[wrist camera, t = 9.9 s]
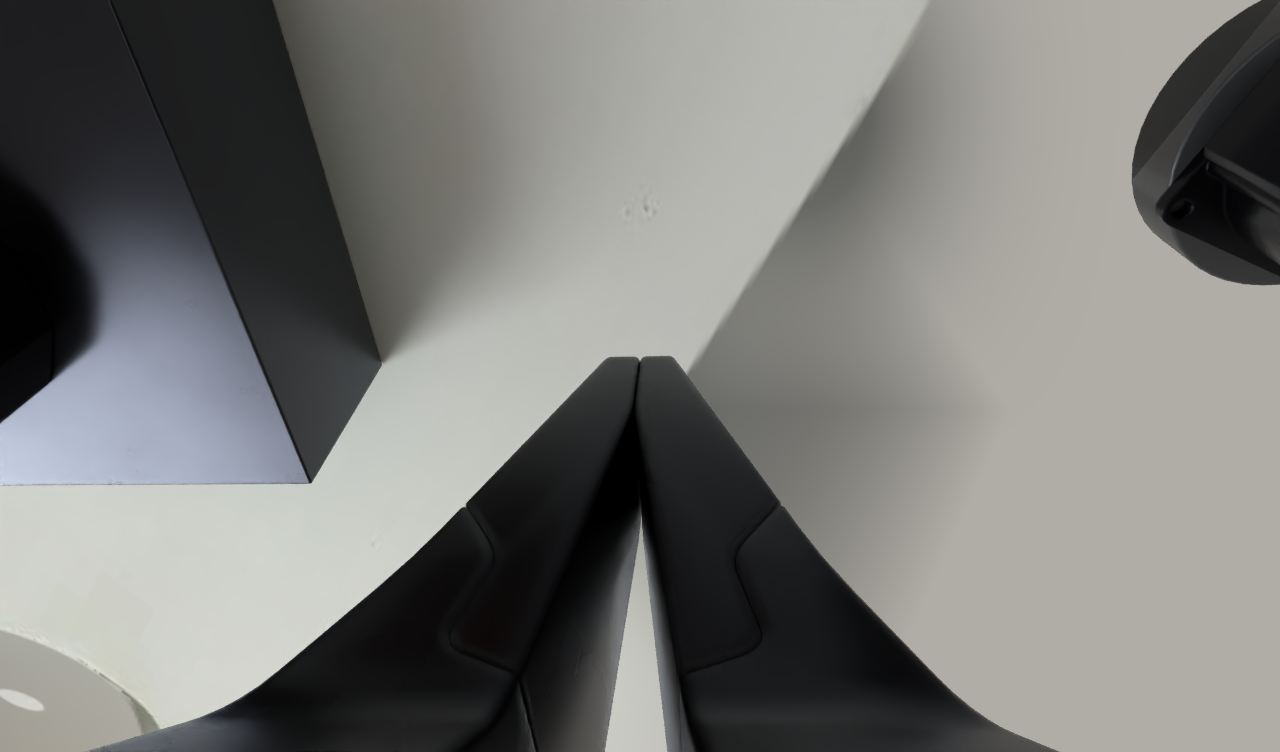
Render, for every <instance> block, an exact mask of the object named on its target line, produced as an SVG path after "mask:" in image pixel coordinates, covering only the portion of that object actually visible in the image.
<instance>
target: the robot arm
mask: <svg viewBox="0 0 1280 752" xmlns="http://www.w3.org/2000/svg"><path fill="white" fill-rule="evenodd" d="M1182 201H1184V204H1183V206H1182V207H1181V208H1180V209H1179V210H1178V211H1176V212H1173V213H1172V210H1173V208H1174V206H1175V205H1177V204H1178V203H1179V202H1182ZM1154 211H1155V214H1156V216H1157V217H1158V218H1159V219H1160V220H1162V221H1163V222H1164V223H1166V224H1167V225H1169V226H1171V227H1173V228H1175V229H1177V230H1179V231H1182V232H1184V233H1186V234H1188V235H1190V236H1193V237H1195V238H1197V239H1199V240H1201V241H1203V242H1206V243H1208V244H1210V245H1212V246H1214V247H1217V248H1219V249H1221V250H1223V251H1225V252H1227V253H1230V254H1232V255H1234V256H1236V257H1238V258H1241V259H1243V260H1245V261H1247V262H1249V263H1251V264H1254V265H1256V266H1258V267H1260V268H1262V269H1264V270H1267V271H1269V272H1271V273H1273V274H1275V275H1278V276H1280V58H1279V59H1278V60H1277V61H1276V62H1275V64H1274V65H1273V66H1272V67H1271V68H1270V69H1269V71H1268V72H1267V73H1266V74H1265V75H1264V76H1263V78H1262V79H1261V80H1260V81H1259V82H1258V83H1257V85H1256V86H1255V87H1254V88H1253V89H1252V90H1251V92H1250V93H1249V94H1248V95H1247V96H1246V97H1245V98H1244V100H1243V101H1242V102H1241V103H1240V104H1239V105H1238V107H1237V108H1236V109H1235V110H1234V111H1233V112H1232V114H1231V115H1230V116H1229V117H1228V118H1227V119H1226V121H1225V122H1224V123H1223V124H1222V125H1221V126H1220V128H1219V129H1218V130H1217V131H1216V132H1215V133H1214V135H1213V136H1212V137H1211V138H1210V139H1209V140H1208V142H1207V143H1206V144H1205V146H1204V147H1203V148H1202V149H1201V150H1200V151H1199V153H1198V154H1197V155H1196V156H1195V157H1194V158H1193V160H1192V161H1191V162H1190V163H1189V164H1188V165H1187V167H1186V168H1185V169H1184V170H1183V171H1182V172H1181V173H1180V175H1179V176H1178V177H1177V178H1176V179H1175V180H1174V182H1173V183H1172V184H1171V185H1170V186H1169V187H1168V189H1167V190H1166V191H1165V192H1164V193H1163V194H1162V196H1161V197H1160V198H1159V200H1158V201H1157V203H1156V205H1155V210H1154ZM641 516H642V529H643V542H644V550H645V559H646V568H647V576H648V585H649V594H650V603H651V612H652V620H653V630H654V638H655V647H656V656H657V665H658V673H659V682H660V691H661V699H662V709H663V717H664V726H665V735H666V743H667V752H1058V751H1056V750H1054V749H1051V748H1049V747H1046V746H1044V745H1041V744H1039V743H1036V742H1034V741H1032V740H1029V739H1027V738H1024V737H1022V736H1019V735H1017V734H1015V733H1012V732H1010V731H1008V730H1006V729H1004V728H1002V727H1000V726H998V725H997V724H995V723H993V722H991V721H990V720H988V719H987V718H985V717H984V716H982V715H981V714H980V713H978V712H977V711H975V710H974V709H973V708H971V707H970V706H969V705H967V704H966V703H965V702H964V701H963V700H961V699H960V698H959V697H958V696H957V695H955V694H954V693H953V692H952V691H951V690H950V689H949V688H948V687H947V686H946V685H945V684H944V683H943V682H942V681H941V680H940V679H939V678H937V676H935V674H934V673H933V672H932V671H931V670H930V669H929V668H928V667H927V666H926V665H925V664H924V663H923V662H922V661H921V660H920V659H919V658H918V657H917V656H916V655H915V654H914V653H913V652H912V651H911V650H910V649H909V647H907V645H906V644H905V643H904V642H903V641H902V640H901V639H900V638H899V637H898V636H897V635H896V634H895V633H894V632H893V631H892V630H891V629H890V628H889V627H888V626H887V625H886V624H885V623H884V622H883V621H882V620H881V619H880V618H879V617H878V615H876V613H875V612H873V610H872V609H871V608H870V607H869V606H868V605H867V604H866V603H865V602H864V601H863V600H862V599H861V598H860V597H859V596H858V595H857V594H856V593H855V592H854V591H853V590H852V588H851V587H849V585H848V584H847V583H846V582H845V581H844V580H843V579H842V578H841V577H840V575H839V574H838V573H837V572H836V571H835V570H834V569H833V568H832V567H831V566H830V565H829V564H828V562H827V561H826V560H825V559H824V558H823V557H822V555H821V554H820V553H819V552H818V550H817V549H816V548H815V547H814V545H813V544H812V543H811V542H810V540H809V539H808V538H807V537H806V535H805V534H804V533H803V532H802V531H801V529H800V528H799V526H798V525H797V524H796V522H795V521H794V520H793V518H792V517H791V516H790V514H789V513H788V512H787V510H786V509H785V507H783V506H781V503H780V501H779V500H778V498H777V497H776V496H775V494H774V493H773V492H772V490H771V489H770V488H769V486H768V485H767V483H766V482H765V481H764V479H763V478H762V477H761V475H760V474H759V473H758V471H757V470H756V468H755V467H754V466H753V464H752V463H751V462H750V460H749V459H748V458H747V456H746V455H745V454H744V452H743V451H742V449H741V448H740V447H739V445H738V444H737V443H736V441H735V440H734V439H733V437H732V436H731V435H730V433H729V432H728V430H727V429H726V428H725V426H724V425H723V424H722V422H721V421H720V420H719V418H718V417H717V416H716V414H715V413H714V412H713V410H712V409H711V408H710V406H709V405H708V404H707V402H706V401H705V399H704V398H703V397H702V395H701V394H700V393H699V391H698V390H697V388H696V387H695V386H694V384H693V383H692V382H691V380H690V379H689V378H688V376H687V375H686V374H685V372H684V371H683V369H682V368H681V367H680V365H679V364H678V363H677V361H676V360H675V359H674V358H673V357H671V356H646V357H643V358H642V359H641V361H640V360H639V359H638V358H637V357H609V358H607V359H605V360H604V361H603V362H602V363H601V364H600V365H599V366H598V368H597V369H596V370H595V371H594V372H593V373H592V374H591V375H590V376H589V377H588V378H587V379H586V380H585V381H584V382H583V383H582V384H581V385H580V386H579V387H578V388H577V389H576V390H575V391H574V392H573V393H572V394H571V395H570V396H569V398H568V399H567V400H566V401H565V402H564V403H563V404H562V405H561V406H560V407H559V408H558V409H557V410H556V411H555V412H554V413H553V414H552V415H551V416H550V417H549V418H548V419H547V420H546V421H545V422H544V423H543V424H542V425H541V426H540V428H539V429H538V430H537V431H536V432H535V433H534V434H533V435H532V436H531V437H530V438H529V439H528V440H527V441H526V442H525V443H524V444H523V445H522V446H521V447H520V448H519V449H518V450H517V451H516V452H515V453H514V454H513V455H512V456H511V457H510V459H509V460H508V461H507V462H506V463H505V464H504V465H503V466H502V467H501V468H500V469H499V470H498V471H497V472H496V473H495V474H494V475H493V476H492V477H491V478H490V479H489V480H488V481H487V482H486V483H485V484H484V485H483V486H482V487H481V489H480V490H479V491H478V492H477V493H476V494H475V495H474V496H473V497H472V498H471V499H470V500H469V501H468V502H467V503H466V507H463V508H461V509H460V510H459V511H458V512H457V513H456V514H455V515H454V516H453V517H452V518H451V519H450V520H449V521H448V522H447V523H446V524H445V525H444V526H443V527H442V528H441V529H440V530H439V531H438V532H437V533H436V534H435V535H434V536H433V537H432V538H431V539H430V540H429V541H428V542H427V543H426V544H425V545H424V546H423V547H422V548H421V549H420V550H419V551H418V552H417V553H416V554H415V555H414V556H413V557H412V558H410V559H409V560H408V561H407V562H406V563H405V564H404V565H402V566H401V567H400V568H399V569H398V570H397V571H396V572H395V573H393V574H392V575H391V576H390V577H389V578H388V579H387V580H385V581H384V582H383V583H382V584H381V585H380V586H379V587H377V588H376V589H375V590H374V591H373V592H372V593H370V594H369V595H368V596H367V597H366V598H365V599H363V600H362V601H361V602H360V603H359V604H357V605H356V606H355V607H354V608H353V609H351V610H350V611H349V612H348V613H347V614H345V615H344V616H343V617H342V618H341V619H339V620H338V621H337V622H336V623H335V624H334V625H332V626H331V627H330V628H329V629H328V630H326V631H325V632H324V633H323V634H322V635H320V636H319V637H318V638H317V639H316V640H314V641H313V642H312V643H311V644H310V645H309V646H307V647H306V648H305V649H304V650H303V651H301V652H300V653H299V654H298V655H297V656H295V657H294V658H293V659H292V660H291V661H289V662H288V663H287V664H286V665H285V666H283V667H282V668H281V669H280V670H279V671H277V672H276V673H275V674H274V675H272V676H271V677H270V678H268V679H267V680H266V681H265V682H263V683H262V684H261V685H259V686H258V687H256V688H255V689H253V690H252V691H250V692H249V693H247V694H246V695H244V696H243V697H241V698H240V699H238V700H236V701H234V702H232V703H230V704H229V705H227V706H225V707H223V708H221V709H219V710H216V711H214V712H212V713H209V714H207V715H205V716H202V717H200V718H197V719H194V720H191V721H188V722H185V723H182V724H178V725H175V726H171V727H168V728H164V729H161V730H158V731H154V732H151V733H147V734H144V735H141V736H137V737H134V738H131V739H127V740H124V741H120V742H117V743H114V744H110V745H107V746H103V747H100V748H96V749H93V750H90V751H86V752H605V746H606V740H607V733H608V727H609V720H610V715H611V708H612V702H613V696H614V690H615V683H616V678H617V671H618V665H619V659H620V653H621V647H622V640H623V634H624V628H625V622H626V616H627V609H628V602H629V597H630V590H631V584H632V578H633V572H634V566H635V560H636V553H637V547H638V541H639V533H640V524H641Z"/></svg>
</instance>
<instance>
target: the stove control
mask: <svg viewBox="0 0 1280 752" xmlns="http://www.w3.org/2000/svg"><path fill="white" fill-rule="evenodd" d="M381 366H382V364H381V360H380V357H379V354H378V350H377V347H376V344H375V340H374V337H373V334H372V330H371V327H370V324H369V321H368V317H367V314H366V311H365V307H364V304H363V301H362V297H361V294H360V291H359V287H358V284H357V281H356V277H355V274H354V271H353V268H352V264H351V261H350V258H349V254H348V251H347V248H346V244H345V241H344V238H343V234H342V231H341V228H340V224H339V221H338V218H337V214H336V211H335V208H334V205H333V201H332V198H331V195H330V191H329V188H328V185H327V181H326V178H325V175H324V171H323V168H322V165H321V161H320V158H319V155H318V152H317V148H316V145H315V142H314V138H313V135H312V132H311V128H310V125H309V122H308V118H307V115H306V112H305V108H304V105H303V102H302V98H301V95H300V92H299V89H298V85H297V82H296V79H295V75H294V72H293V69H292V65H291V62H290V59H289V55H288V52H287V49H286V45H285V42H284V39H283V36H282V32H281V29H280V26H279V22H278V19H277V16H276V12H275V9H274V6H273V2H272V0H0V485H130V484H310V483H312V481H313V480H314V478H315V476H316V475H317V473H318V471H319V470H320V468H321V466H322V465H323V463H324V461H325V460H326V458H327V456H328V455H329V453H330V451H331V450H332V448H333V446H334V445H335V443H336V441H337V440H338V438H339V436H340V435H341V433H342V431H343V430H344V428H345V426H346V425H347V423H348V421H349V420H350V418H351V416H352V415H353V413H354V411H355V410H356V408H357V406H358V404H359V403H360V401H361V399H362V398H363V396H364V394H365V393H366V391H367V389H368V388H369V386H370V384H371V383H372V381H373V379H374V378H375V376H376V374H377V373H378V371H379V369H380V368H381Z"/></svg>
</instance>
